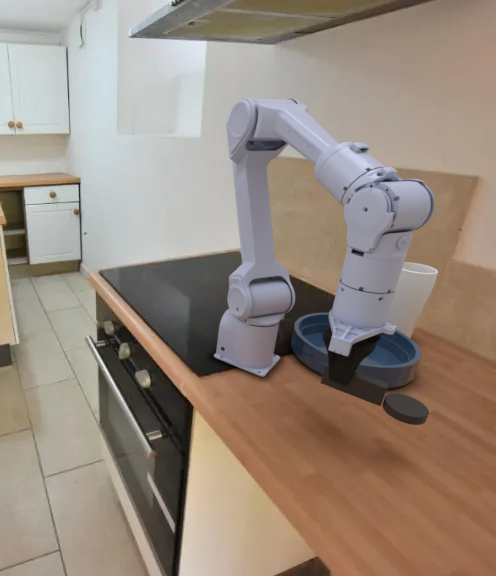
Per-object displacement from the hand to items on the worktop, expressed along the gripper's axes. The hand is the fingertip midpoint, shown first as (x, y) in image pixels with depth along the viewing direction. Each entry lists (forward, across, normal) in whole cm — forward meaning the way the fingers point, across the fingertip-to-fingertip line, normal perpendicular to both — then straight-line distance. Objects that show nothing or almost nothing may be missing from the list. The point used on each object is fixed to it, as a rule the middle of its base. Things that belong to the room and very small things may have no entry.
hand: (340, 378), depth 51 cm
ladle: (+1, 0, -4) cm, 4 cm away
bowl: (+8, +22, +2) cm, 24 cm away
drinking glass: (+9, +37, -2) cm, 38 cm away
